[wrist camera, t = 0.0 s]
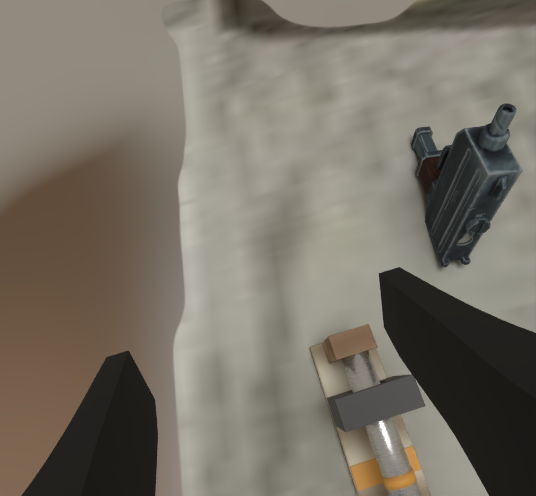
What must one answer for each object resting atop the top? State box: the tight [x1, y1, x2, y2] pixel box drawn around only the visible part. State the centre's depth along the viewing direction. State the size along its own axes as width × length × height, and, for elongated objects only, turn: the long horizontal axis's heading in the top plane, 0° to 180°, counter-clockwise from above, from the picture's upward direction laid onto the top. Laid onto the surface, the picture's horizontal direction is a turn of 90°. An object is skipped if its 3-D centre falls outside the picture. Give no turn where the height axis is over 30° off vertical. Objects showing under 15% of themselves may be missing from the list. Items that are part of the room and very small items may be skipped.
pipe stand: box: [310, 324, 431, 496], centre depth 38 cm, size 18×6×7 cm, turn 17°
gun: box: [411, 104, 523, 267], centre depth 41 cm, size 3×17×15 cm
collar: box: [327, 375, 425, 432], centre depth 36 cm, size 2×6×6 cm, turn 107°
